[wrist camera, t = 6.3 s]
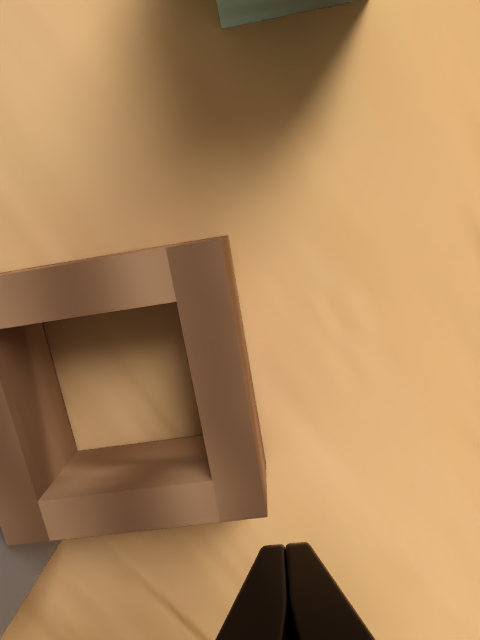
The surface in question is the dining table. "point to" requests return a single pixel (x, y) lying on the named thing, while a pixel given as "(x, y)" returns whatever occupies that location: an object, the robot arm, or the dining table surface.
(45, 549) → the slab
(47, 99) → the dining table surface
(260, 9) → the pale teal cube
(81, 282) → the brown square frame
